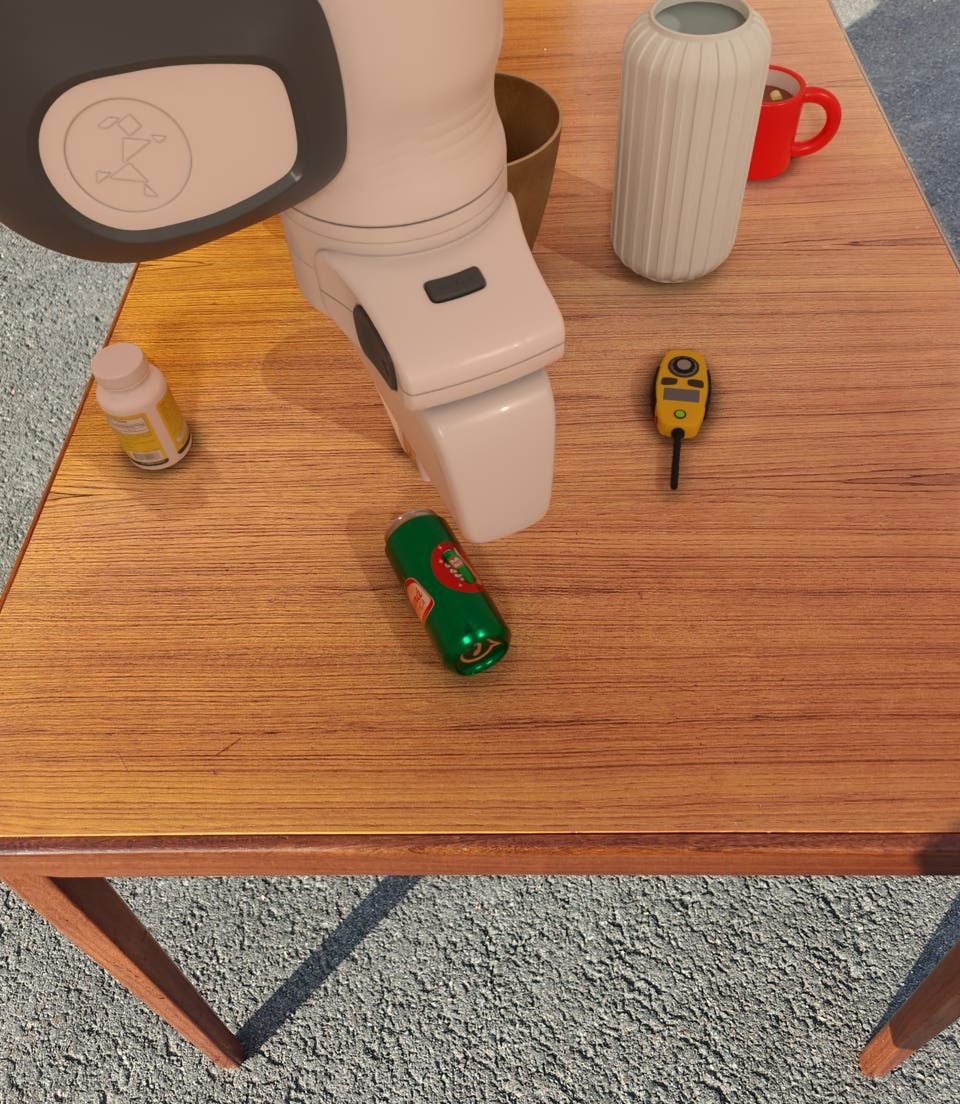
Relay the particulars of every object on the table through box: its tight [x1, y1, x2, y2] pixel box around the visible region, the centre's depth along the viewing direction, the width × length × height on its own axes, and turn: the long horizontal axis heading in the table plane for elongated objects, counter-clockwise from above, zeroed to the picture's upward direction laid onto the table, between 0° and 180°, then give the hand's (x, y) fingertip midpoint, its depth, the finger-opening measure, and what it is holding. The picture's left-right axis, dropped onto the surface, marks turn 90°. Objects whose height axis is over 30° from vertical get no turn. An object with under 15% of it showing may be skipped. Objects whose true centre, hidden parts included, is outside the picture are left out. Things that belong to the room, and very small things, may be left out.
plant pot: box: [494, 70, 564, 252], centre depth 82 cm, size 15×15×16 cm
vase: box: [609, 0, 773, 284], centre depth 79 cm, size 12×12×22 cm
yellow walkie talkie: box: [650, 349, 712, 491], centre depth 75 cm, size 5×2×15 cm
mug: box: [747, 64, 843, 181], centre depth 94 cm, size 8×12×8 cm, turn 86°
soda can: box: [383, 507, 513, 677], centre depth 65 cm, size 5×5×12 cm
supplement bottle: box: [90, 342, 193, 471], centre depth 74 cm, size 5×5×10 cm
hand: (428, 459), depth 48 cm, fingers closed
